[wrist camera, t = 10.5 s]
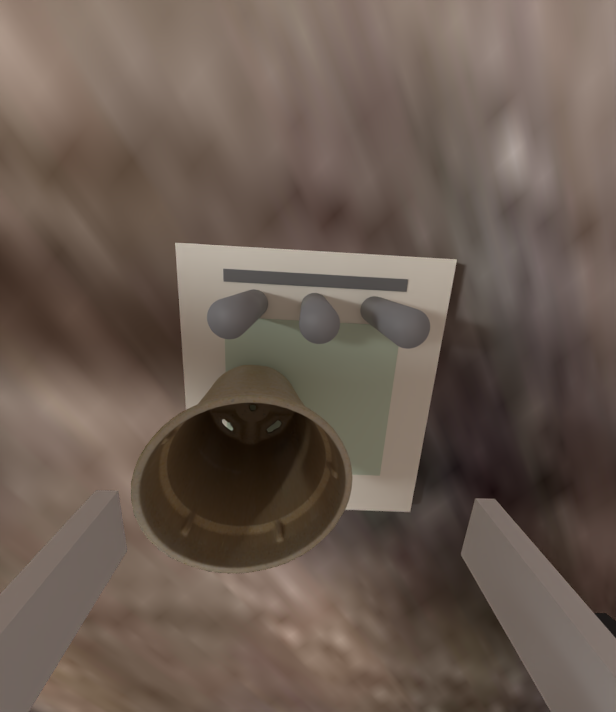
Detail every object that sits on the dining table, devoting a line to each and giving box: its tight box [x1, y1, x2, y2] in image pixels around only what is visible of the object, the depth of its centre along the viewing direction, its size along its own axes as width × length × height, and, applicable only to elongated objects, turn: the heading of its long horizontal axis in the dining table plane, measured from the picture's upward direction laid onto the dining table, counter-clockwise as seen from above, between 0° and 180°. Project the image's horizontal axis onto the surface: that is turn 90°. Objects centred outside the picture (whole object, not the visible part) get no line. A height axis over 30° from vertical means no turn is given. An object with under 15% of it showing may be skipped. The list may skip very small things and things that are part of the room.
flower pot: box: [131, 365, 352, 573], centre depth 17 cm, size 9×9×9 cm
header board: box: [175, 243, 457, 512], centre depth 18 cm, size 18×20×8 cm
